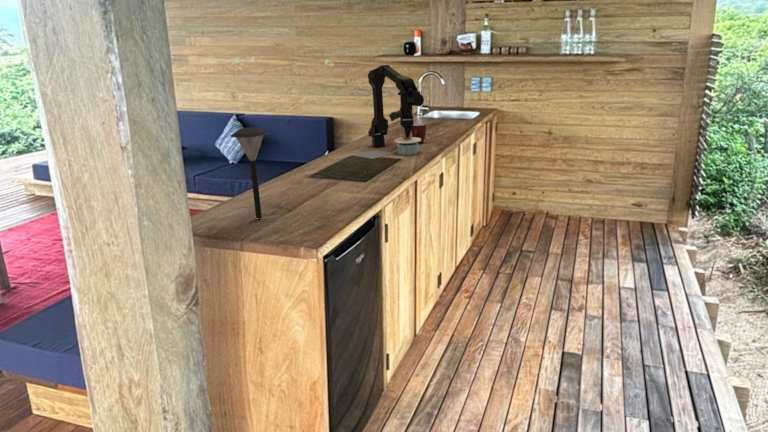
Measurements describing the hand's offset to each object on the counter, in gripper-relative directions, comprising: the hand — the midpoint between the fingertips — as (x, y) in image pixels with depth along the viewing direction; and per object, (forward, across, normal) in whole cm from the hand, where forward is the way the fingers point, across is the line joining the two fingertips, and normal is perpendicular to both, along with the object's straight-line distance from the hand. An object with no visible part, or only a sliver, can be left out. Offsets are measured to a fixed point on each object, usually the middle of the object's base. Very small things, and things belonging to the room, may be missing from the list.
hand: (407, 137), depth 292 cm
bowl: (+8, 0, 0) cm, 8 cm away
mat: (+8, 0, -17) cm, 19 cm away
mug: (+8, -28, +6) cm, 30 cm away
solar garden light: (+8, +103, -50) cm, 115 cm away
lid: (+2, 0, 0) cm, 2 cm away
